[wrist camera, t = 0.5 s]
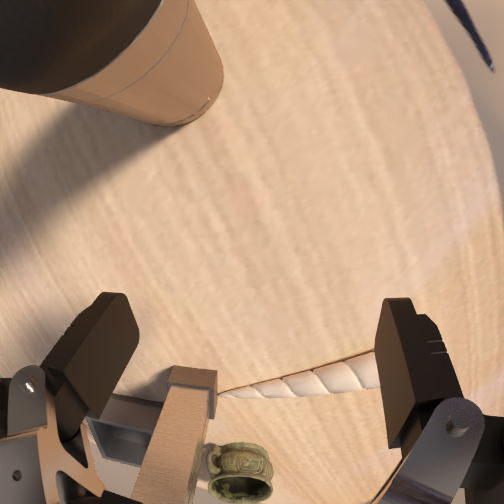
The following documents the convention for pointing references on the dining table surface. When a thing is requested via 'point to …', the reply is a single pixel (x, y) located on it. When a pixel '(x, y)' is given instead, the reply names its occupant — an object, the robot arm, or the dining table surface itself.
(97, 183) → the dining table surface
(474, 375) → the dining table surface
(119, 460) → the grey open storage bin
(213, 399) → the split metal pillar
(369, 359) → the unicorn horn
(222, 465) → the vessel
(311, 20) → the dining table surface
